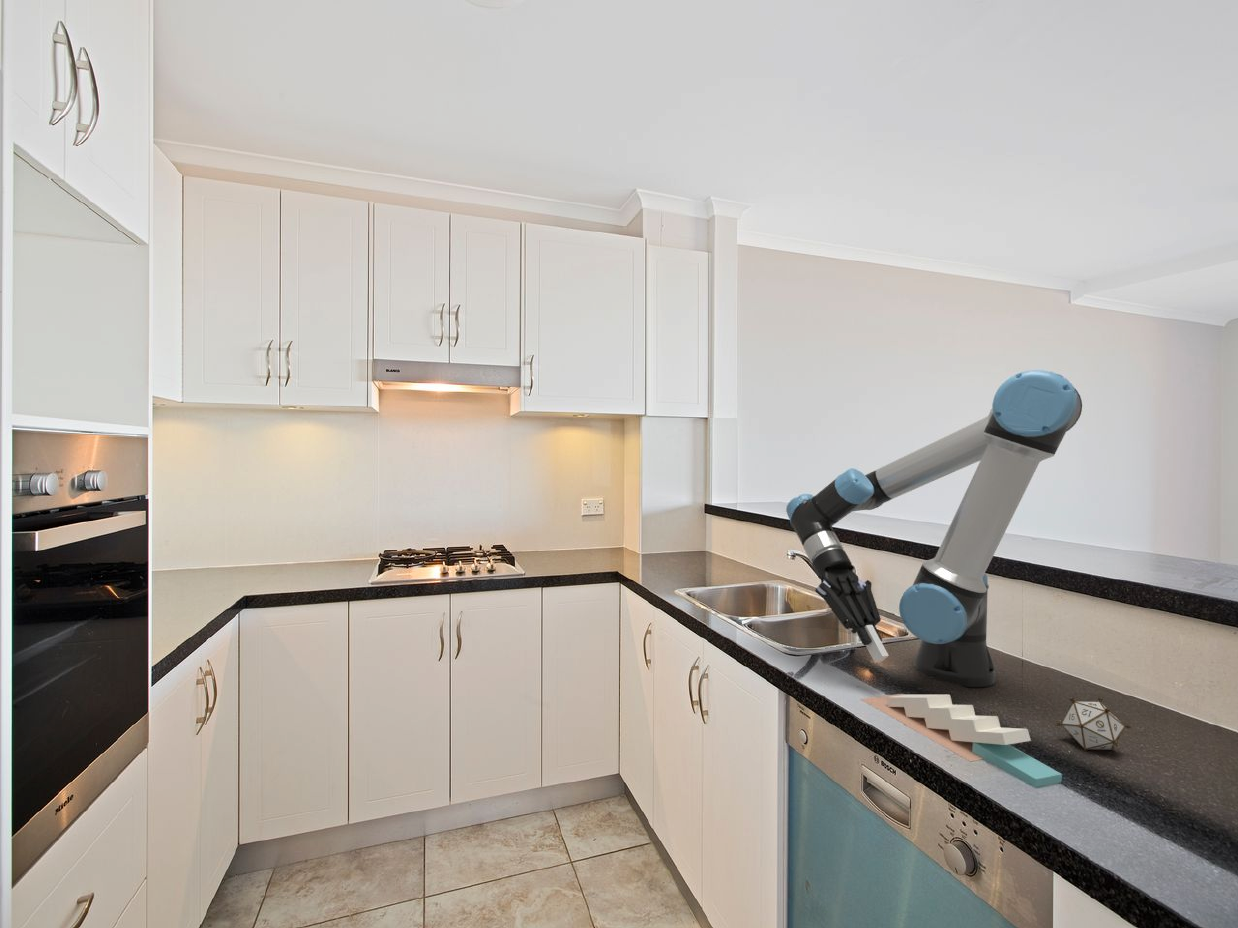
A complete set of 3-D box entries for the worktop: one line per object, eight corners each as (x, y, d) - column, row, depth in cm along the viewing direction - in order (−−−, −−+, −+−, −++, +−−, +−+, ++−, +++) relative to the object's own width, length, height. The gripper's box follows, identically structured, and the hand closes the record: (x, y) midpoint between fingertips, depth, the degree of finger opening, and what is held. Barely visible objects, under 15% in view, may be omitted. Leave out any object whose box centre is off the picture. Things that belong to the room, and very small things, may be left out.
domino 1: (885, 697, 109) (926, 697, 100) (907, 694, 111) (949, 694, 102) (887, 706, 109) (929, 707, 100) (909, 703, 110) (952, 704, 101)
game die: (1089, 767, 97) (1106, 711, 100) (1134, 775, 89) (1151, 713, 92) (1037, 735, 98) (1055, 680, 101) (1076, 740, 90) (1095, 680, 93)
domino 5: (973, 742, 92) (1035, 779, 82) (997, 738, 93) (1062, 774, 84) (972, 752, 92) (1034, 790, 82) (996, 747, 93) (1061, 784, 84)
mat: (860, 701, 112) (860, 698, 112) (902, 696, 115) (902, 693, 115) (970, 765, 89) (970, 761, 89) (1020, 756, 92) (1020, 752, 92)
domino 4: (948, 729, 96) (1002, 732, 87) (972, 725, 98) (1027, 728, 89) (951, 740, 96) (1005, 744, 87) (975, 736, 97) (1030, 740, 88)
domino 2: (904, 706, 105) (948, 708, 96) (926, 703, 107) (972, 704, 98) (906, 716, 105) (951, 718, 96) (929, 713, 106) (975, 715, 97)
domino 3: (924, 717, 101) (973, 719, 92) (947, 714, 102) (997, 716, 93) (926, 727, 100) (976, 731, 91) (950, 724, 102) (1000, 727, 93)
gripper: (844, 565, 134) (897, 665, 118) (794, 567, 130) (843, 671, 114) (861, 546, 129) (920, 647, 113) (810, 547, 125) (864, 652, 109)
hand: (881, 659), depth 114 cm, fingers closed
